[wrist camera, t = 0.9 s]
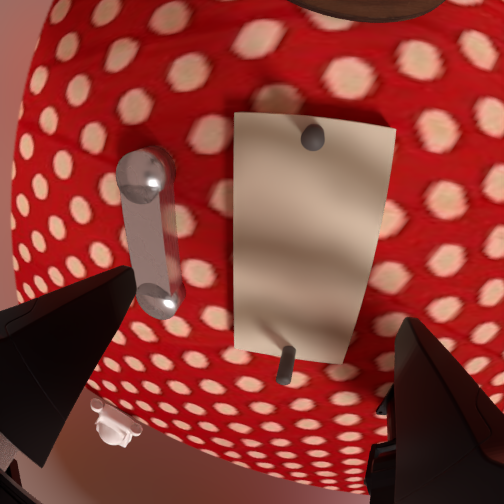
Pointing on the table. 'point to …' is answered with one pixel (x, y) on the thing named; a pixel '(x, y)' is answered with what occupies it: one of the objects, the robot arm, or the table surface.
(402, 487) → the robot arm
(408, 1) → the dark brown upright piece
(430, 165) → the table surface
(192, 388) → the table surface
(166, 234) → the grey baby rattle
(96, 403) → the plane toy
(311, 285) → the peg rack
